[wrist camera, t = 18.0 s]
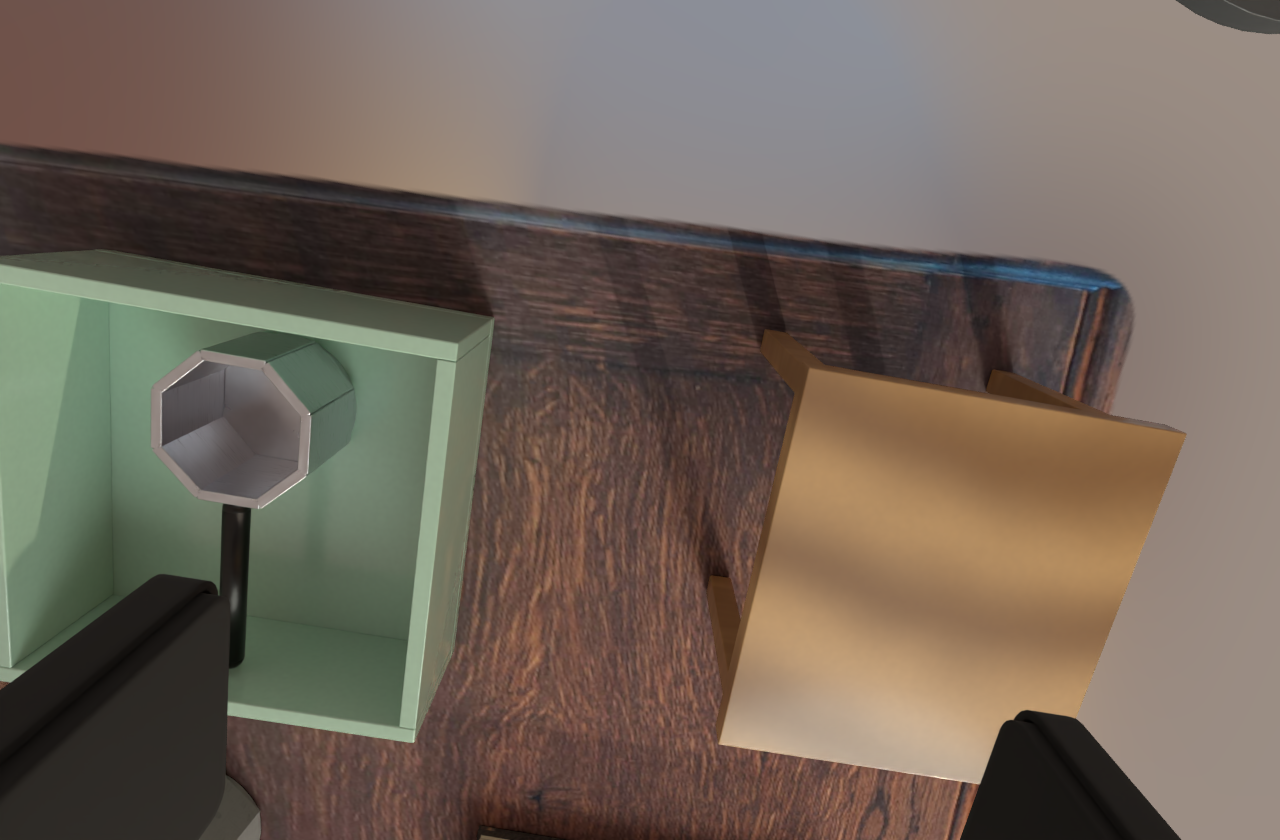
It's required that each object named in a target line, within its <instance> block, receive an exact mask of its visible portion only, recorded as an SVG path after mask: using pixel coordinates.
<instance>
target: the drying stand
mask: <svg viewBox="0 0 1280 840" xmlns="http://www.w3.org/2000/svg"><path fill="white" fill-rule="evenodd" d="M760 352H761V353H762V354H763V356H764V357H765V358H766V359H767V360H768V362H769V363H770V364H771V365H772V366H773V368H774V369H775V370H776V371H777V372H778V374H779V375H780V376H781V377H782V378H783V380H784V381H785V382H786V383H787V384H788V386H789V387H790V388H791V389H792V390H793V392H794V393H795V394H794V398H793V403H792V407H791V411H790V415H789V419H788V424H787V428H786V432H785V436H784V440H783V445H782V449H781V453H780V457H779V461H778V465H777V470H776V474H775V478H774V482H773V486H772V491H771V495H770V499H769V503H768V507H767V512H766V516H765V520H764V524H763V528H762V533H761V537H760V541H759V545H758V549H757V554H756V558H755V562H754V566H753V570H752V575H751V579H750V583H749V587H748V591H747V596H746V600H745V604H744V608H743V612H742V617H741V620H740V616H739V611H738V607H737V603H736V599H735V594H734V590H733V586H732V582H731V579H730V578H726V577H720V576H714V575H711V576H710V578H709V583H708V587H707V592H706V594H707V600H708V606H709V612H710V618H711V624H712V630H713V636H714V642H715V648H716V655H717V661H718V667H719V673H720V679H721V685H722V691H723V696H722V700H721V705H720V709H719V713H718V717H717V721H716V732H717V739H718V744H720V745H727V746H733V747H740V748H746V749H753V750H759V751H766V752H772V753H779V754H785V755H792V756H799V757H805V758H812V759H818V760H825V761H831V762H838V763H844V764H851V765H857V766H864V767H871V768H877V769H884V770H890V771H897V772H903V773H910V774H916V775H923V776H929V777H936V778H942V779H949V780H956V781H962V782H969V783H975V784H980V783H981V780H982V777H983V775H984V772H985V769H986V766H987V763H988V761H989V758H990V755H991V752H992V750H993V747H994V744H995V741H996V738H997V736H998V733H999V730H1000V728H1001V726H1002V724H1003V723H1004V722H1006V721H1007V720H1014V718H1015V716H1016V715H1017V714H1018V713H1020V712H1021V711H1024V710H1031V711H1038V712H1044V713H1051V714H1057V715H1063V716H1069V717H1072V718H1076V716H1077V714H1078V711H1079V709H1080V706H1081V704H1082V701H1083V699H1084V696H1085V694H1086V691H1087V688H1088V686H1089V683H1090V681H1091V678H1092V675H1093V673H1094V670H1095V668H1096V665H1097V663H1098V660H1099V658H1100V655H1101V652H1102V650H1103V647H1104V645H1105V642H1106V640H1107V637H1108V635H1109V632H1110V629H1111V627H1112V624H1113V622H1114V619H1115V617H1116V614H1117V611H1118V609H1119V606H1120V604H1121V601H1122V599H1123V596H1124V594H1125V591H1126V589H1127V586H1128V583H1129V581H1130V578H1131V576H1132V573H1133V571H1134V568H1135V566H1136V563H1137V560H1138V557H1139V555H1140V553H1141V550H1142V547H1143V545H1144V543H1145V540H1146V537H1147V535H1148V532H1149V530H1150V527H1151V525H1152V522H1153V519H1154V517H1155V514H1156V512H1157V509H1158V507H1159V504H1160V501H1161V499H1162V496H1163V494H1164V491H1165V489H1166V486H1167V484H1168V481H1169V478H1170V476H1171V473H1172V471H1173V468H1174V465H1175V463H1176V461H1177V458H1178V455H1179V453H1180V450H1181V448H1182V445H1183V442H1184V440H1185V437H1186V433H1184V432H1182V431H1179V430H1177V429H1174V428H1172V427H1170V426H1167V425H1165V424H1159V423H1153V422H1147V421H1142V420H1135V419H1130V418H1124V417H1119V416H1113V415H1109V414H1107V413H1104V412H1102V411H1100V410H1097V409H1095V408H1093V407H1091V406H1088V405H1086V404H1084V403H1081V402H1079V401H1077V400H1075V399H1072V398H1070V397H1068V396H1065V395H1063V394H1061V393H1058V392H1056V391H1054V390H1052V389H1049V388H1047V387H1045V386H1042V385H1040V384H1038V383H1036V382H1033V381H1031V380H1029V379H1026V378H1024V377H1022V376H1020V375H1017V374H1015V373H1011V372H1005V371H1000V370H992V372H991V376H990V379H989V382H988V385H987V389H986V392H988V393H990V394H988V393H982V392H977V391H971V390H965V389H960V388H954V387H948V386H942V385H937V384H931V383H925V382H920V381H914V380H908V379H903V378H897V377H891V376H885V375H880V374H874V373H868V372H863V371H857V370H851V369H846V368H840V367H834V366H829V365H824V364H823V363H822V362H821V361H819V360H818V359H817V358H816V357H815V356H813V355H812V354H811V353H810V352H809V351H808V350H806V349H805V348H804V347H803V346H802V345H800V344H799V343H798V342H797V341H796V340H795V339H793V338H792V337H791V336H790V335H789V334H788V333H785V332H779V331H774V330H768V329H765V330H764V335H763V339H762V344H761V348H760Z"/></svg>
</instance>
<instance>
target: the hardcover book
mask: <svg viewBox="0 0 1280 840" xmlns="http://www.w3.org/2000/svg"><path fill="white" fill-rule="evenodd" d="M477 840H564V839H558V838H552V837H546V836H540V835H534V834H528V833H522V832H515V831H509V830H503V829H497V828H491V827H485V826H479V829H478V834H477Z"/></svg>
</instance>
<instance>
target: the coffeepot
mask: <svg viewBox="0 0 1280 840" xmlns="http://www.w3.org/2000/svg"><path fill="white" fill-rule="evenodd" d="M260 835H261V819H260V810H259V808H258V807H257V805H256V804H255V802H254V801H253V799H252V798H251V797H250V795H249V794H248V793H247V792H246V791H245V790H244V788H243V787H242V786H240V785H239V784H238V783H237V782H236V781H234V780H233V779H232V778H230V777H229V776H227V775H226V778H225V790H224V794H223V798H222V801H221V803H220V806H219V809H218V811H217V813H216V815H215V817H214V818H213V820H212V821H211V823H210V824H209V826H208V827H207V829H206V830H205V831H204V833H203V834H202V836H201V837H200V839H199V840H260Z"/></svg>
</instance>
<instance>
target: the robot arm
mask: <svg viewBox="0 0 1280 840" xmlns="http://www.w3.org/2000/svg"><path fill="white" fill-rule="evenodd" d="M230 613H231V609H230V602H229V599H228V598H227V597H225V596H219V595H218V590H217V587H216V585H215V584H214V583H213V582H211V581H206V580H200V579H194V578H187V577H181V576H175V575H168V574H158V575H156V576H154V577H152V578H151V579H149V580H148V581H147V582H145V583H144V584H142V585H141V586H140V587H138V588H137V589H136V590H134V591H133V592H132V593H130V594H129V595H128V596H126V597H125V598H124V599H122V600H121V601H120V602H118V603H117V604H116V605H114V606H113V607H112V608H110V609H109V610H108V611H106V612H105V613H103V614H102V615H101V616H99V617H98V618H97V619H95V620H94V621H93V622H91V623H90V624H89V625H87V626H86V627H85V628H83V629H82V630H81V631H79V632H78V633H77V634H75V635H74V636H73V637H71V638H70V639H69V640H67V641H66V642H64V643H63V644H62V645H60V646H59V647H58V648H56V649H55V650H54V651H52V652H51V653H50V654H48V655H47V656H46V657H44V658H43V659H42V660H40V661H39V662H38V663H36V664H35V665H34V666H32V667H31V668H30V669H28V670H27V671H25V672H24V673H23V674H21V675H20V676H19V677H17V678H16V679H15V680H13V681H12V682H11V683H9V684H8V685H7V686H5V687H4V688H3V689H1V690H0V840H199V839H200V837H201V836H202V834H203V833H204V831H205V830H206V829H207V827H208V826H209V824H210V823H211V821H212V820H213V818H214V817H215V815H216V813H217V811H218V809H219V806H220V803H221V801H222V798H223V794H224V790H225V778H226V745H227V712H228V679H229V646H230ZM960 840H1181V839H1180V838H1179V836H1178V835H1177V834H1176V833H1175V832H1174V831H1173V830H1172V829H1171V827H1170V826H1169V825H1168V824H1167V823H1166V821H1165V820H1164V819H1163V818H1162V817H1161V815H1160V814H1159V813H1158V812H1157V811H1156V810H1155V808H1154V807H1153V806H1152V805H1151V804H1150V803H1149V801H1148V800H1147V799H1146V798H1145V797H1144V796H1143V794H1142V793H1141V792H1140V791H1139V790H1138V789H1137V787H1136V786H1135V785H1134V784H1133V783H1132V782H1131V781H1130V779H1128V777H1127V776H1126V775H1125V773H1124V772H1123V771H1122V770H1121V769H1120V768H1119V766H1118V765H1117V764H1116V763H1115V762H1114V761H1113V759H1112V758H1111V757H1110V756H1109V755H1108V753H1107V752H1106V751H1105V750H1104V749H1103V748H1102V747H1101V746H1100V744H1099V743H1098V742H1097V741H1096V740H1095V739H1094V737H1093V736H1092V735H1091V734H1090V732H1089V731H1088V730H1087V729H1086V728H1085V727H1084V725H1082V724H1081V723H1080V722H1079V721H1078V720H1077V719H1076V718H1072V717H1069V716H1063V715H1057V714H1051V713H1044V712H1038V711H1031V710H1024V711H1021V712H1020V713H1018V714H1017V715H1016V716H1015V718H1014V720H1007V721H1006V722H1004V723H1003V724H1002V726H1001V728H1000V730H999V733H998V736H997V738H996V741H995V744H994V747H993V750H992V752H991V755H990V758H989V761H988V763H987V766H986V769H985V772H984V775H983V777H982V780H981V783H980V786H979V788H978V791H977V794H976V797H975V800H974V802H973V805H972V808H971V811H970V813H969V816H968V819H967V822H966V825H965V827H964V830H963V833H962V836H961V838H960Z"/></svg>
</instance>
